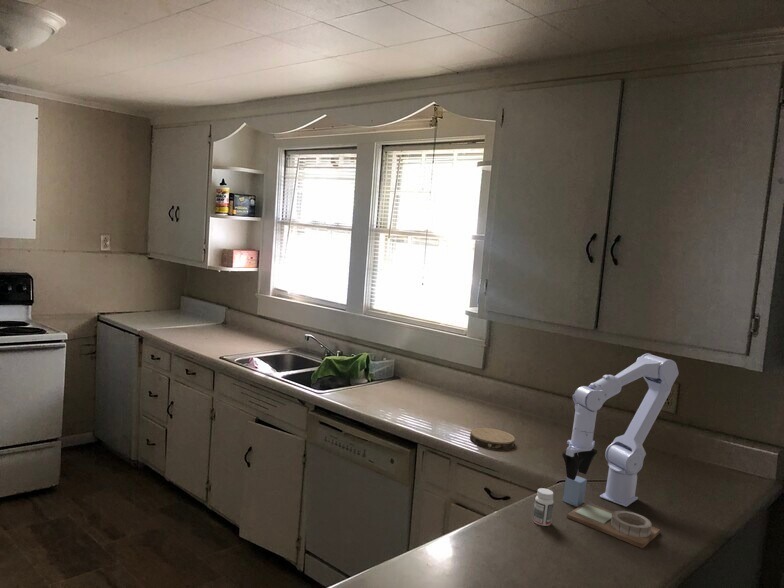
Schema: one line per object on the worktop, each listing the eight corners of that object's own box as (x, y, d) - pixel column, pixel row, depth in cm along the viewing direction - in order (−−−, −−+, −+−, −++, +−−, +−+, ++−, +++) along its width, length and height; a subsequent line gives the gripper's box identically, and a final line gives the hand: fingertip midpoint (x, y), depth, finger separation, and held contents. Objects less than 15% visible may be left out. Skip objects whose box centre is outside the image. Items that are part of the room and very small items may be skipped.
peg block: (569, 497, 176) (572, 474, 176) (583, 502, 173) (587, 479, 173) (562, 501, 173) (565, 477, 172) (577, 506, 170) (580, 482, 170)
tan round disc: (522, 445, 220) (523, 437, 220) (498, 454, 208) (499, 445, 208) (485, 433, 230) (486, 425, 230) (460, 440, 218) (461, 432, 218)
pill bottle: (547, 518, 160) (552, 488, 160) (553, 527, 156) (557, 495, 155) (530, 517, 160) (534, 486, 159) (535, 525, 155) (539, 494, 155)
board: (587, 505, 172) (588, 493, 172) (659, 533, 159) (661, 520, 159) (566, 517, 162) (568, 504, 162) (642, 548, 149) (644, 534, 149)
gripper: (580, 421, 179) (574, 465, 181) (558, 429, 169) (552, 476, 170) (604, 428, 175) (597, 473, 176) (582, 436, 164) (575, 485, 165)
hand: (576, 475), depth 173 cm, fingers open, 7 cm apart
